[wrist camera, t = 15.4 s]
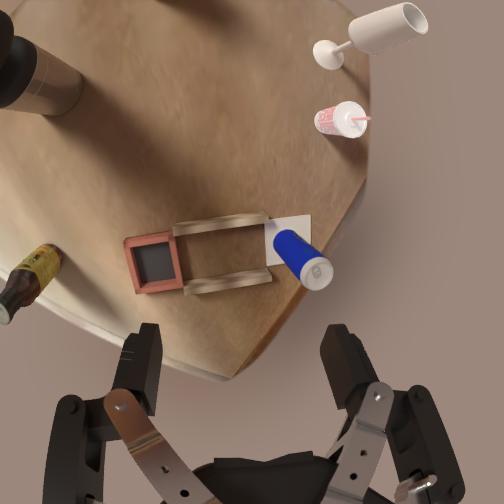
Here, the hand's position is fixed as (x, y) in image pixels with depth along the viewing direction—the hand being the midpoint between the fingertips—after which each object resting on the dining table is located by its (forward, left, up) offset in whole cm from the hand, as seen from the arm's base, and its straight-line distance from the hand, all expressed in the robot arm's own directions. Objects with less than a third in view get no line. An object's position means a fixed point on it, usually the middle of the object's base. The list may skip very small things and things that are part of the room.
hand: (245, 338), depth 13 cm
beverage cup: (+24, +12, -37) cm, 46 cm away
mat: (+15, -10, -37) cm, 41 cm away
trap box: (-10, -10, -37) cm, 40 cm away
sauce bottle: (-31, -6, -37) cm, 49 cm away
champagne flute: (+26, +26, -37) cm, 52 cm away
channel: (+3, -10, -37) cm, 39 cm away
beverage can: (+14, -10, -37) cm, 41 cm away
